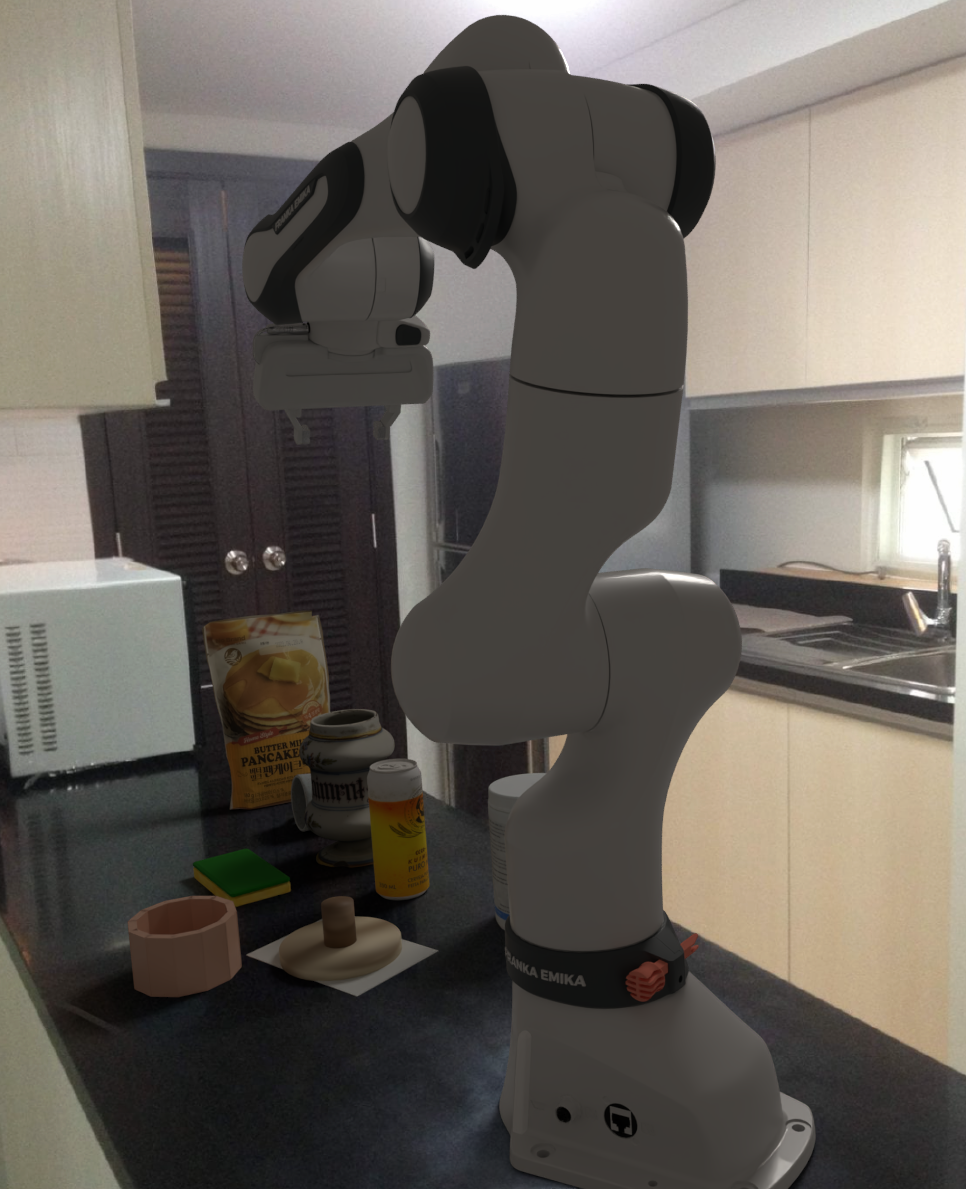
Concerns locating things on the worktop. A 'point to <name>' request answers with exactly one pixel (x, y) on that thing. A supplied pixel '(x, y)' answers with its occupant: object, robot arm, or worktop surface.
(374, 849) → the beer can
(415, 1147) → the worktop surface
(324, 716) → the apothecary jar
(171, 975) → the bowl
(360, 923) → the lid
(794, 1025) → the worktop surface
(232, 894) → the dish sponge
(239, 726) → the pancake mix bag
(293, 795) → the ceramic mug
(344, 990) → the mat
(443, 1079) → the worktop surface
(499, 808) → the supplement tub
